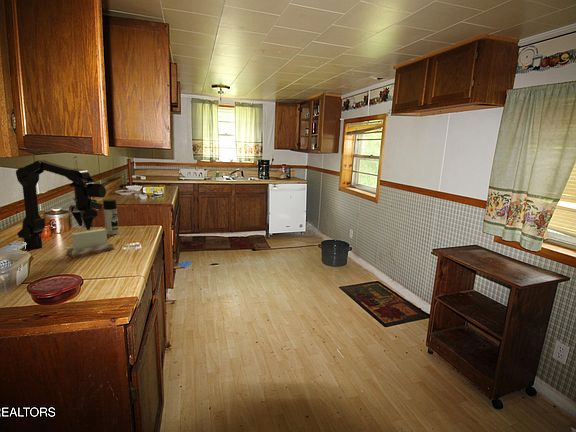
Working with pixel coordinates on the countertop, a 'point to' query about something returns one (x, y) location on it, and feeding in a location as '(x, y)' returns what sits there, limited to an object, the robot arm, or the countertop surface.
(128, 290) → the countertop surface
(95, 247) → the bottom track
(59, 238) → the countertop surface
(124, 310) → the countertop surface
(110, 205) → the spray can
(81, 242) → the pale green rectangular block
